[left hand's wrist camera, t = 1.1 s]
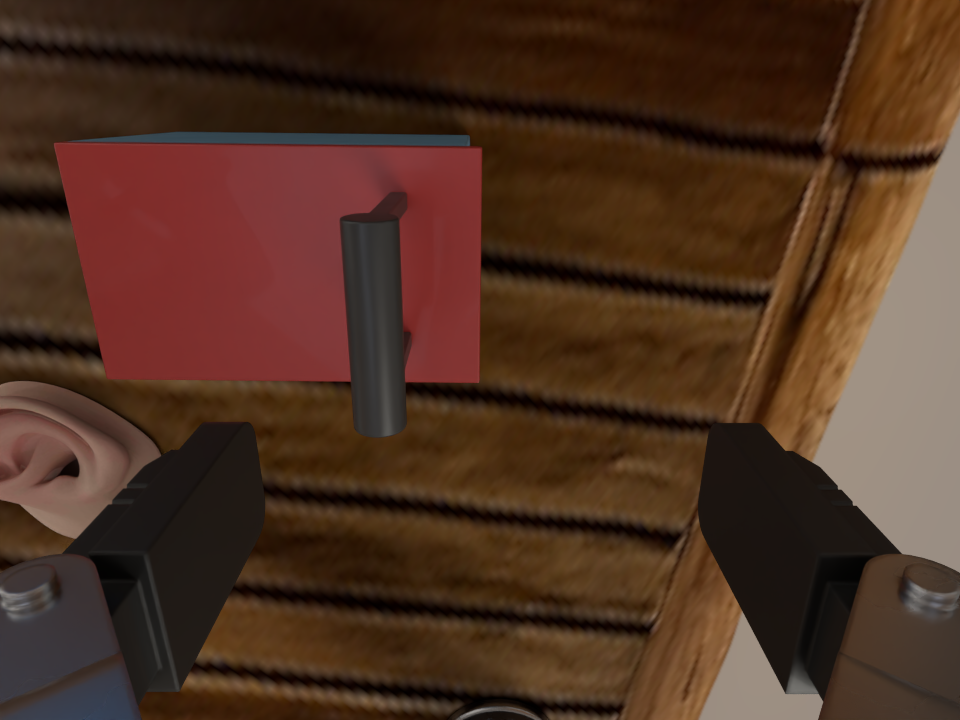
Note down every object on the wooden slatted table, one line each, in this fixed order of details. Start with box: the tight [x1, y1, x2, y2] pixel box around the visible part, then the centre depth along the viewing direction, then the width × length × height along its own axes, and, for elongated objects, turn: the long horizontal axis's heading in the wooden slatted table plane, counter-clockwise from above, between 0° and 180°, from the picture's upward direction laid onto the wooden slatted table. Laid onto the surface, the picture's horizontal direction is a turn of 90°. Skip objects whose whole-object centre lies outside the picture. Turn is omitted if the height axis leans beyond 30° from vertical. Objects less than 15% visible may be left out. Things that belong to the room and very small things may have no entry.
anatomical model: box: [0, 381, 161, 539], centre depth 40 cm, size 13×4×12 cm
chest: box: [68, 132, 470, 146], centre depth 31 cm, size 16×10×10 cm, turn 89°
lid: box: [54, 141, 482, 437], centre depth 23 cm, size 16×10×9 cm, turn 89°
